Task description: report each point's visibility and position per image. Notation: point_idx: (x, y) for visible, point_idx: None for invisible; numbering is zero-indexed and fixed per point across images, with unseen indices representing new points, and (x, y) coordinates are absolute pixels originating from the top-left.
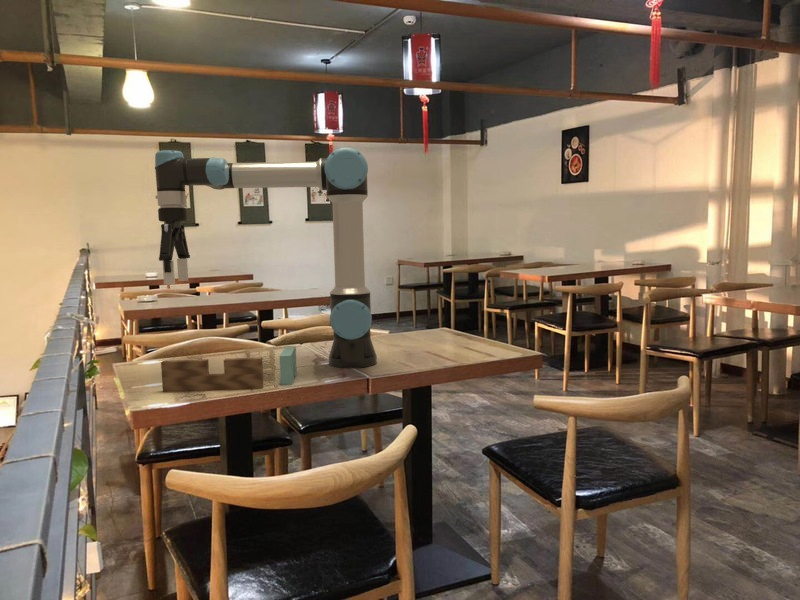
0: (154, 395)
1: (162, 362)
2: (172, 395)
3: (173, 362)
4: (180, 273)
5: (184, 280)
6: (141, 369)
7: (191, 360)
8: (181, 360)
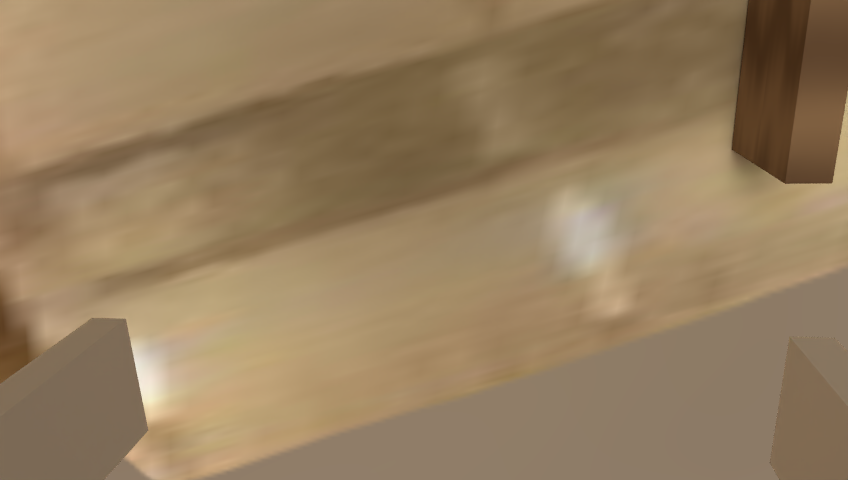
0: None
1: (833, 174)
2: None
3: (843, 110)
4: (77, 465)
5: (129, 360)
6: (270, 376)
7: (830, 7)
8: (807, 74)
